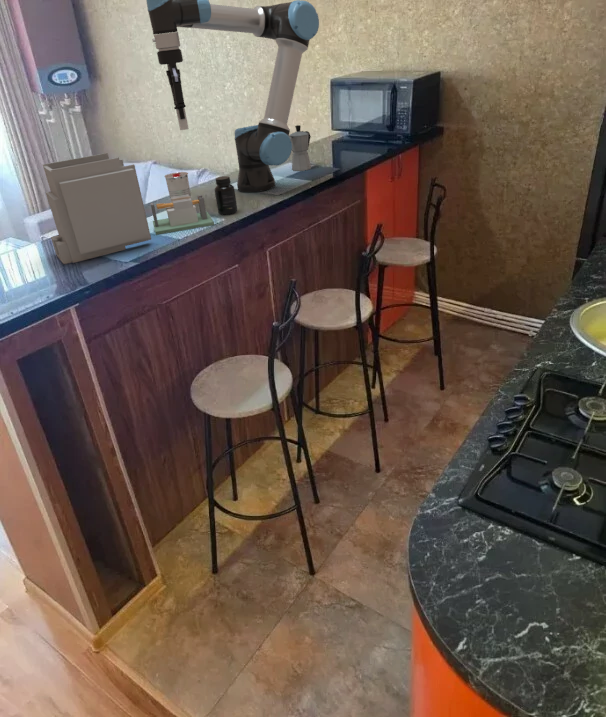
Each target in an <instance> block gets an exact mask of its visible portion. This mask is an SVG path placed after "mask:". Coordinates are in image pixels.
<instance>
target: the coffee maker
mask: <svg viewBox="0 0 606 717" xmlns="http://www.w3.org/2000/svg"><path fill="white" fill-rule="evenodd" d="M294 126H295V132H293V133H289V138H290V141H291V142H292V151H291V152H292V160H291V161H292V162H291V163H292V164H291V171H293V172H304V171H305V170H306V171H309V170H312V166H311V165H312V164H311V159H310V156H309V153H308V150H309V146H310V141H311V134H310V132H309V130H306V131H304V130H302V131H301V126H302V125H300V124H299V125H294Z"/></svg>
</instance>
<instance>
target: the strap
mask: <svg viewBox="0 0 606 717" xmlns="http://www.w3.org/2000/svg"><path fill="white" fill-rule="evenodd" d="M200 198H201V197H200ZM192 203H193V204H194V205H196V204H197V205H199V200H198V199H194V200H193V199H192ZM155 205H156V209H157V210H162V209H166V207H174V206H173V203H172V202H168V203H166V202H165V203H164V202H163V203H162V202H161V203H156V204H155Z"/></svg>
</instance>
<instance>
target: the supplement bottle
mask: <svg viewBox="0 0 606 717" xmlns="http://www.w3.org/2000/svg"><path fill="white" fill-rule="evenodd" d="M231 182H232V181H231V178H230V176H227V175H224V176H219V177H218V176H217V177H215V185H216V186H215V187H214V196H215V201H216V207H217V212H218V214H219V215H220V216H230V215H234V214H236V213H237V212H238V204H237V197H236V190H235V186H234V185H233V184H232V183H231Z"/></svg>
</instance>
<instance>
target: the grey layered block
mask: <svg viewBox="0 0 606 717" xmlns="http://www.w3.org/2000/svg"><path fill="white" fill-rule="evenodd" d="M124 164H125V163H124V160H123V159H120V158H119V157H113V158H110V156H109V153H108V152H106V153H99V154H94V155H88V156H87V155H86V156H82V157H77V158H71V159H70V158H69V159H66V160H65V159H64V160H61V161H54V162H49V163H43V164H42V166H43V171H44V174H45V177H46V180H47V183H48V187H49V190H50V191H46V192H45V195H46V197H47V202H48V204H49V208H50V211H51V214H52V218H53V221H54V225H55V227H56V231H57V234H58V235H55V236H54V235H53V236H50V239H51V242H52V244H53V245H52V246H53V248H54V251H55V254H56V256H57V258H58V259H59V260H60V261H61V263H62V264H63V265H66V264H67V265H68V264H71V263H77V262H82V261H86V260H89V259H93V258H98V257H102V256H105V255H106V256H107V255H110V254H113V253H117V252H122V251H125V250H127V248H126V247H127V246H131V245H135V244H139V243H143V242H144V243H145V242H147V241H151V240H152V237H151V236H152V235H151V231H150V228H149V222H148V218H147V214H146V211H145V210H146V209H145V205H144V201H143V195H142V193H141V187H140V183H139V178H138V174H137V169H136V165H135V164H133V163H132V164H129V165H124Z"/></svg>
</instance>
